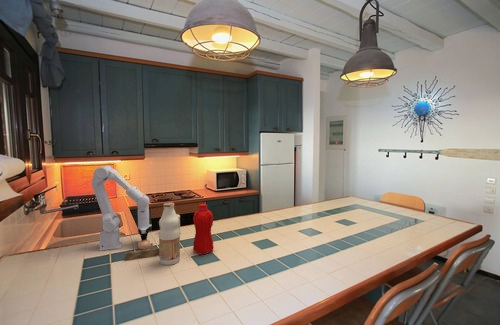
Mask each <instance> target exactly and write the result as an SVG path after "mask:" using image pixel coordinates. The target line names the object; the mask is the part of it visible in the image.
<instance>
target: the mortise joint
mask: <svg viewBox="0 0 500 325" xmlns="http://www.w3.org/2000/svg"><path fill="white" fill-rule="evenodd" d="M154 257H159V247H157V248H154V243H151V242H150V247H149V248H147V249H143V250H141V249H140V250H134V251H127V252H124V258H125V259H124V260H125V261H131V260H132V261H133V260H139V259H140V260H141V259H146V258H154Z"/></svg>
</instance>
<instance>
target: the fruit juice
mask: <svg viewBox="0 0 500 325" xmlns="http://www.w3.org/2000/svg"><path fill="white" fill-rule="evenodd" d="M176 214H177V213H176V210H175V203H174V202H164V203H163V211H162V215H161V217H160V219H159V221H158V225H159V232H158V239H159V240H158V242H159V243H158V246H159V247H158V248H159V256H158V257H159V264H161V265H164V266H171V265H174V264H177V263H179V262H180V259H181V242H180V241H181V238H180V237H181V230H180V231H179V228H178V226H179V218H178V217H177V215H176Z"/></svg>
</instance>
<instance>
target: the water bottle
mask: <svg viewBox="0 0 500 325" xmlns="http://www.w3.org/2000/svg"><path fill="white" fill-rule="evenodd" d="M192 222H193V224H194V225H193V226H194V229H195V230H194V231H195V234H194V240H193V246H192V249H193V251H194V252H195V253H197V254H199V255H205V254H208V253H211V252H213V250H214V239H213V236H212V227H213V226H214V215H213V212H212V211H211V210H209V209H208V204H205V203H200V204H199V205H198V210H196V211H195V212H194V214H193V218H192Z"/></svg>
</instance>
